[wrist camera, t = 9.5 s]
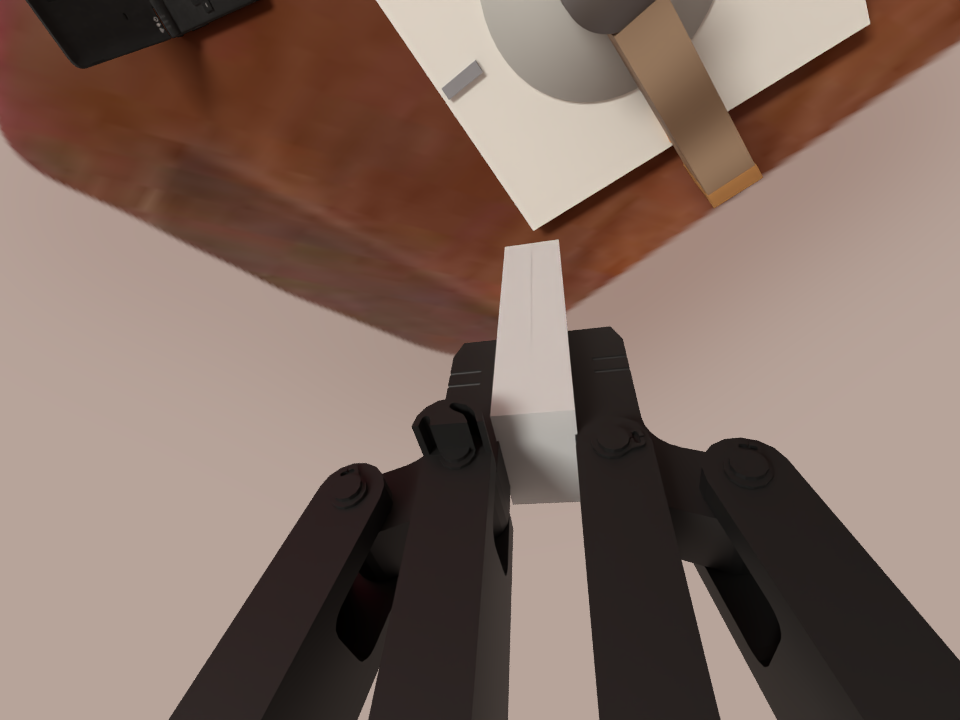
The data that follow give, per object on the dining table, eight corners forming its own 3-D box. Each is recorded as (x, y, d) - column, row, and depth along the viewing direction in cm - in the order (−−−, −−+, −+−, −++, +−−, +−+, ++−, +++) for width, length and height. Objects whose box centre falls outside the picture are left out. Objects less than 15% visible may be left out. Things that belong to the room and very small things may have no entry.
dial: (535, -39, 24) (537, -38, 20) (614, -122, 22) (635, -141, 18) (672, 182, 30) (696, 219, 26) (744, 133, 28) (782, 164, 24)
